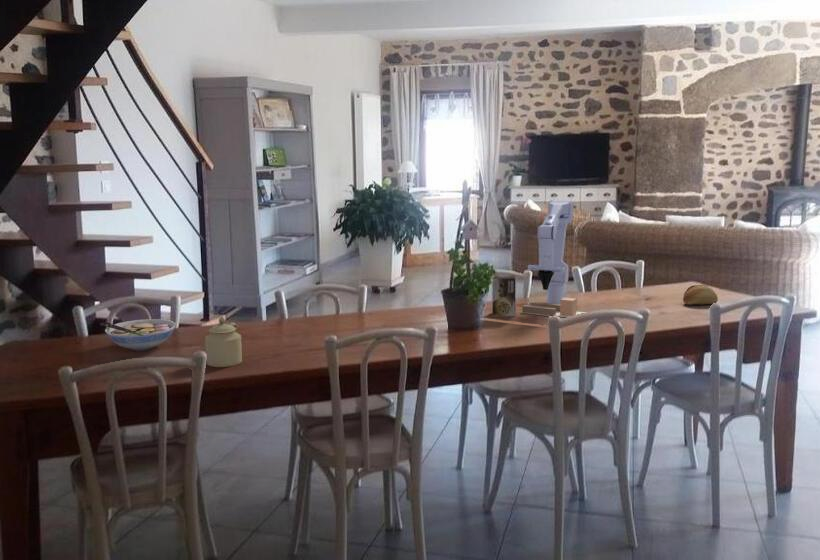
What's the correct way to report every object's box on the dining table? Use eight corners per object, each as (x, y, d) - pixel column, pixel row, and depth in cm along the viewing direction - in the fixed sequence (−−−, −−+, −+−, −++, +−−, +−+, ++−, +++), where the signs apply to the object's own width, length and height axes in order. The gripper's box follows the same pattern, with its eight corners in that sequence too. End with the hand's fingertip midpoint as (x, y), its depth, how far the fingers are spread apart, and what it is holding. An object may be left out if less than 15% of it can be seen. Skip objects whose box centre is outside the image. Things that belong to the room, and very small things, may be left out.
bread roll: (676, 303, 317) (677, 284, 315) (708, 301, 320) (709, 282, 318) (690, 307, 307) (691, 288, 306) (722, 305, 311) (723, 286, 309)
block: (564, 312, 297) (564, 297, 296) (576, 313, 294) (576, 298, 293) (560, 314, 293) (560, 299, 292) (572, 316, 290) (572, 300, 289)
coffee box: (515, 315, 298) (515, 275, 295) (515, 318, 291) (516, 277, 288) (491, 314, 299) (492, 274, 296) (491, 318, 292) (492, 277, 289)
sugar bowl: (204, 356, 245) (201, 311, 242) (239, 353, 248) (236, 308, 246) (207, 369, 231) (204, 321, 228) (244, 365, 234) (241, 318, 232)
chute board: (532, 309, 308) (533, 300, 307) (590, 315, 295) (590, 306, 295) (521, 315, 297) (521, 306, 297) (580, 321, 285) (580, 312, 285)
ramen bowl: (192, 347, 256) (190, 323, 255) (129, 361, 240) (127, 336, 238) (154, 335, 273) (152, 313, 271) (92, 348, 256) (90, 325, 255)
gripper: (525, 255, 295) (524, 289, 298) (560, 258, 288) (559, 292, 291) (531, 253, 301) (531, 286, 304) (566, 255, 294) (565, 289, 297)
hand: (545, 289), depth 298 cm, fingers closed
